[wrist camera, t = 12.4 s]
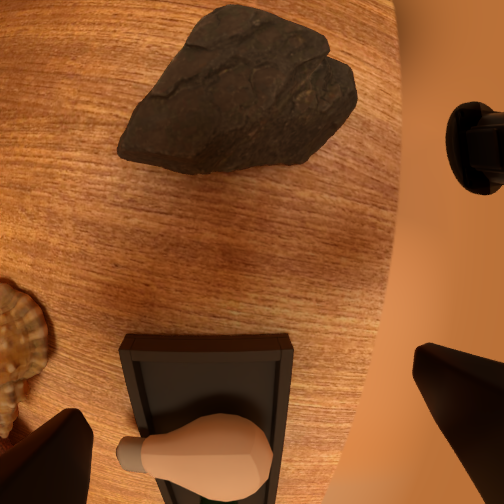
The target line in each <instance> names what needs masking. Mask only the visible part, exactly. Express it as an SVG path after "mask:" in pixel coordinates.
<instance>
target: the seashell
mask: <svg viewBox="0 0 504 504" xmlns="http://www.w3.org/2000/svg"><path fill="white" fill-rule="evenodd" d="M47 363H48V327H47V324H46V321H45V318H44V315H43V312H42V310H41V308H40V307H39V306H38V305H37V303H36V302H35V301H34V300H33V299H32V298H31V297H30V296H29V295H27V294H25V293H23V292H20V291H16V290H15V289H13V288H12V287H11V286H10V285H9V284H5V283H0V436H1V437H2V438H7V437H8V435H9V432H10V431H11V430H12V427H13V421H14V420H15V419H16V418H17V415H18V414H19V411H18V403H19V402H21V401H24V400H26V395H27V394H29V393H30V387H29V385H28V382H27V379H28V378H30V377H32V376H34V375H36V374H39V373H40V372H41V371H42V370H43V369H44V368H45V367H46V365H47Z"/></svg>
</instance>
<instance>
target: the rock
mask: <svg viewBox="0 0 504 504" xmlns="http://www.w3.org/2000/svg"><path fill="white" fill-rule="evenodd" d="M329 52H330V48H329V44H328V41H327V39H326V38H325V36H324V35H321V34H319V33H318V32H316V31H314V30H312V29H309V28H307V27H305V26H302V25H299V24H296V23H294V22H291V21H288V20H285V19H282V18H280V17H278V16H276V15H274V14H271V13H269V12H266V11H264V10H260V9H256V8H252V7H247V6H242V5H233V4H229V5H226V6H223V7H220V8H216V9H215V10H214V11H213V12H211V13H209V14H208V15H206V16H204V17H203V18H201V19H200V21H199V22H198V23H197V24H196V25H195V27H194V28H193V30H192V32H191V34H190V36H189V37H188V38H187V40H186V43H185V45H184V46H183V48H182V49H181V50H180V51H179V52H178V54H177V55H176V56H175V57H174V58H173V60H172V61H171V62H170V64H169V65H168V67H167V68H166V70H165V71H164V73H163V74H162V76H161V77H160V79H159V80H158V82H157V83H156V85H155V86H154V87H153V89H152V90H151V91H150V92H149V93H148V95H147V96H146V97H145V98H144V99H143V100H142V101H141V102H140V103H138V105H137V106H136V108H135V109H134V111H133V113H132V116H131V118H130V121H129V123H128V125H127V128H126V130H125V131H124V133H123V134H122V136H121V137H120V140H119V144H118V147H117V154H118V156H119V157H120V158H122V159H125V160H127V161H133V162H137V163H143V164H149V165H154V166H159V167H163V168H165V169H169V170H172V171H174V172H178V173H183V174H189V175H196V174H210V173H211V172H213V171H219V172H231V171H234V170H241V169H246V168H249V167H253V166H262V165H275V164H285V165H292V164H303V163H305V162H306V161H308V159H309V158H310V156H311V155H312V154H314V153H315V152H317V151H318V150H319V149H320V148H321V147H322V146H323V145H324V144H325V143H326V142H327V140H328V139H329V138H330V137H331V136H333V135H334V134H335V132H336V131H337V130H338V129H339V128H340V127H341V126H342V124H343V123H344V122H345V121H346V119H347V118H348V117H349V115H350V114H351V112H352V111H353V110H354V108H355V107H356V104H357V99H358V98H357V90H356V87H355V81H354V76H353V71H352V69H351V68H350V67H349V66H348V65H347V64H344V63H342V62H340V61H338V60H335V59H332V58H330V57H327V55H328V53H329Z"/></svg>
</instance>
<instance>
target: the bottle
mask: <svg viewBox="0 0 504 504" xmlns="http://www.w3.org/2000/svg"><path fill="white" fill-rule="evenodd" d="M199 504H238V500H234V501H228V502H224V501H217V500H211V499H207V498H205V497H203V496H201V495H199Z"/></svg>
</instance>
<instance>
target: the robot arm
mask: <svg viewBox="0 0 504 504" xmlns="http://www.w3.org/2000/svg"><path fill="white" fill-rule="evenodd" d="M460 113H461V115H460ZM455 117H456V123H457V130H458V136H459V144H460V151H461V160H462V170H463V182H464V186H465V188H466V189H478V188H485V187H492V186H500V185H504V112H495V111H487V110H477V109H466V108H459V109H456V110H455ZM469 182H470V183H469ZM412 374H413V378H414V381H415V382H416V385H417V387H418V388H419V390H420V392H421V394H422V396H423V398H424V400H425V402H426V404H427V406H428V408H429V410H430V412H431V414H432V416H433V418H434V420H435V422H436V423H437V425H438V427H439V428H440V430H441V431H442V433H443V434H444V436H445V438H446V439H447V441H448V442H449V444H450V445H451V447H452V449H453V450H454V452H455V453H456V455H457V457H458V458H459V460H460V462H461V463H462V465H463V466H464V468H465V470H466V471H467V473H468V474H469V476H470V478H471V480H472V481H473V483H474V485H475V486H476V488H477V490H478V492H479V493H480V495H481V497H482V498H483V500H484V502H485V504H504V363H502V362H498V361H494V360H490V359H487V358H483V357H480V356H476V355H472V354H469V353H465V352H462V351H458V350H454V349H451V348H447V347H444V346H440V345H437V344H433V343H426V344H424V345H421V346H418V347H417V348H416V350H415V353H414V362H413V370H412ZM93 437H94V436H93V431H92V429H91V427H90V425H89V424H88V422H87V421H86V419H85V417H84V416H83V414H82V412H81V411H80V410H79V409H76V408H66V409H64V410H62V411H61V412H60V413H58V414H57V415H56V416H54V417H53V418H51V419H50V420H49V421H47V422H46V423H45V424H43V425H42V426H40V427H39V428H38V429H36V430H35V431H34V432H32V433H31V434H29V435H28V436H27V437H25V438H24V439H23V440H21V441H20V442H18V443H17V444H16V445H14V446H13V447H12V448H10V449H9V450H7V451H6V452H5V453H3V454H2V455H0V504H86V501H87V495H88V489H89V483H90V473H91V459H92V448H93Z"/></svg>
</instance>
